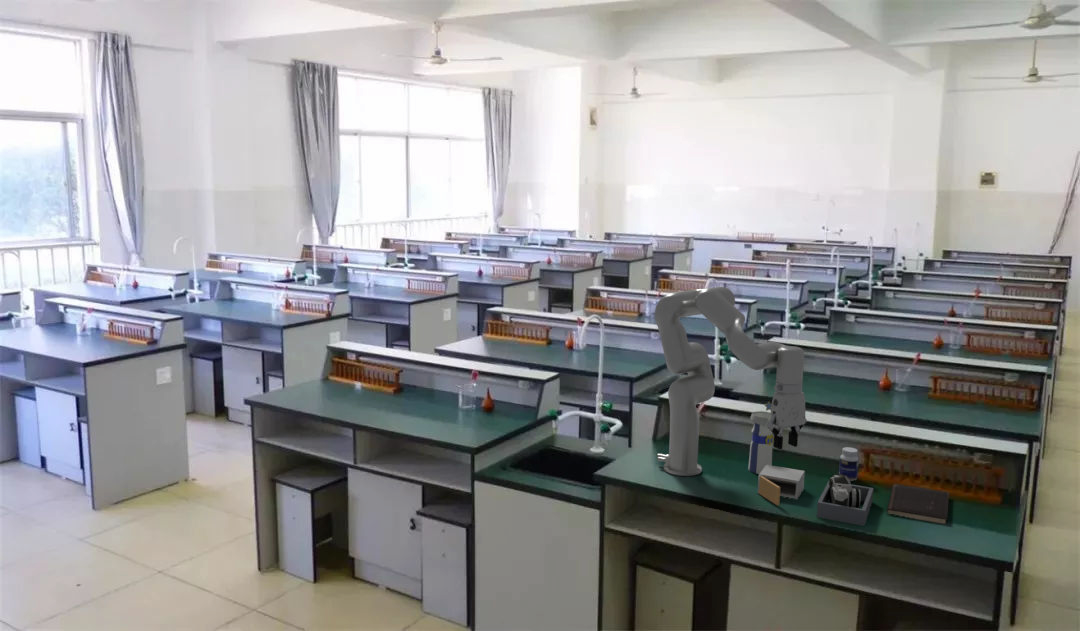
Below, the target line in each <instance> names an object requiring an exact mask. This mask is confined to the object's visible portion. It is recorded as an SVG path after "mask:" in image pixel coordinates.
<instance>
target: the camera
mask: <svg viewBox="0 0 1080 631" xmlns="http://www.w3.org/2000/svg"><path fill="white" fill-rule="evenodd" d="M828 481H829V487H830V492H829V501H828V503H831V504H837V505H842V506H848V507H853V508H859V509H861V503H862V502H861V492H860V490H859V489H858V488H856V489H855V488H854V489H852V486H851V481H849V479H848V478H847V477H839V474H838V475H837V474H834V475H833V476H832V477H830V478H829V479H828Z"/></svg>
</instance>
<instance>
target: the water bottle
mask: <svg viewBox="0 0 1080 631" xmlns="http://www.w3.org/2000/svg"><path fill="white" fill-rule="evenodd" d="M764 406H765V407H766V408H765V411H763V410H759V411H758V410H757V411H753V412H752V413H751V416H750V417H749V418H750V421H752V422H753V427H752V429H751V433H752V434H751V442H750V444H749V445H750V446H749V459H748V467H747V469H748V472H750V473H754V474H758V475H759V474H760V472H761V471H762V470H763V468H764V467H765V466H766V465H772V466H773V464H772V463H773V444H774V435H773V434H772V432H771V430H770V429H769V428H768V427H767V426H766V425H767V423H768V421H769V420H770V415H771V412H769V411H771V406H772V403H770V401H768V402H767V403H766V404H764Z"/></svg>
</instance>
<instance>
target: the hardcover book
mask: <svg viewBox="0 0 1080 631" xmlns="http://www.w3.org/2000/svg"><path fill="white" fill-rule="evenodd" d="M949 496H950V492H948V491H943V490H942V491H941V490H936V489H929V488H924V487H919V486H918V487H917V486H911V485H910V486H909V485H903V484H897V483H894V484H893V485H892V488H891V493H890V497H889V500H888V506H887V508H886V514H887V513H890V514H896V515H900V516H899V517H902V516H905V517H904V518H908V517H909V519H913V518H914V519H915V520H919V521H927V522H932V523H937V524H943V525H946V521H947V520H948V516H949V515H948V512H949V498H950V497H949ZM890 514H889V515H890ZM896 515H895V516H896Z"/></svg>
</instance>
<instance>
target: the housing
mask: <svg viewBox="0 0 1080 631" xmlns="http://www.w3.org/2000/svg"><path fill="white" fill-rule="evenodd" d="M805 473H806V471H805V470H801V469H795V468H789V467H783V466H778V465H777V466H776V465H773V464H772V465H766V466H765V467H764V468H763V470H762V471H761V472H760V474H758V476H759V475H762V476H763V477H765V478H766V479H768V480H769V481H771V482H773V483H774V484H776V485H777V486H779V487H780V496H784V497H783V498H786V497H789V498H788V499H791V498H795V499H794V500H797V499H799V498H800V496H801V494H802V493H803V491H804V489H805V488H804V487H805ZM801 492H802V493H801ZM798 497H799V498H798Z"/></svg>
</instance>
